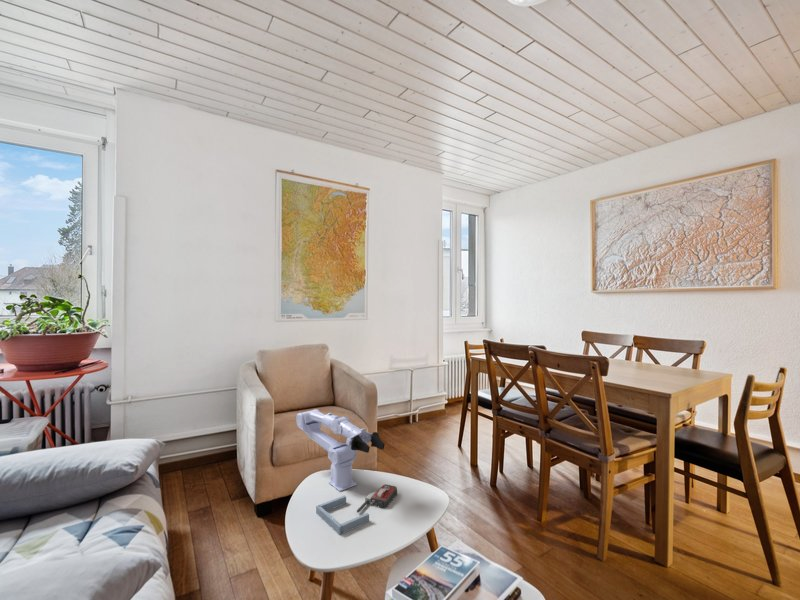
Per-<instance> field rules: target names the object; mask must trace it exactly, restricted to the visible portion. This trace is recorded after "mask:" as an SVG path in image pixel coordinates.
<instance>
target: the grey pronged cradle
mask: <svg viewBox="0 0 800 600" xmlns="http://www.w3.org/2000/svg"><path fill="white" fill-rule="evenodd" d="M345 503H346V504H347V496H346V495H345V494H344V495H341V496H339V497H336V498H334V499H331V500H329V501H326V502H323V503H321V504H318V505H315V513H316V514H317V516H318V517H320V518H321V520H323V521H324V522H325V523H326V524H327V525H328V526H329V527H330V528H331V527H332V528H333V531H335V533H336V534H338V535H339V536H341V535H343V534H345V533H348V532H350V531H352V530H354V529H356V528H358V527H360V526H363V525H365V524H368V523H369V522H370V514H369V513H368V512H366V513H363V514H361V515H358V516H356V517H354V518H352V519H350V520H348V521H345V522H343V523H340V522H339V521H338V520H337V519H336V518H334V517H333V515H331V514H330V513H329V511H331V510H333V509H335V508H334V507H336V508H338V507H341V506H343V505H345ZM340 505H341V506H340ZM337 506H338V507H337ZM332 508H333V509H332ZM330 509H331V510H330ZM327 510H328V511H327Z"/></svg>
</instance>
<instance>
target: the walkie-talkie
mask: <svg viewBox="0 0 800 600" xmlns="http://www.w3.org/2000/svg"><path fill="white" fill-rule="evenodd" d="M397 495H398V488H397V486H395V485H390V484H383V485H381V486H380V488H378V489H377V490H376V491H373V492H370V493H369V494H368V495H367V496H366V497H365V501H364V502H363V503H362V504H361V505H360V507H358V508H357V509H356V513H357V514H359V513H360V512H361V511H362V510H363V509H364V508H365V506H367V505H370V506H374V505H375V507H378V508H382V507H383V509H386V508H388V507H389V505H390V504H389V503H392V501H393V500H394V499H395V498H396V496H397ZM393 498H394V499H393ZM368 503H370V504H368Z"/></svg>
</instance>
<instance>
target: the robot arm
mask: <svg viewBox="0 0 800 600" xmlns="http://www.w3.org/2000/svg"><path fill="white" fill-rule="evenodd" d="M295 421H296V422H295V423H296V425H297V428H299V429H300V430H301V431H302V432H304V434H306V436H307V437H308V438H309V439H310V440H312V441H313V442H314V443H316V444H317V445H318V446H320V447H321V448H322V449H323V450H326V452H327V457H328V459H329V460H330V462H331V465H330V480H329V481H328V484H329V485H331V486H332V487H334V488H335V489H337V490H338V492H342V491H344V490H347V489H350V488H352V487H356V486H357V483H356V482H354V481H353V463H354V461H355V459H356V458H357V451H360V452H364V453H366V454H368V453H370V447H372V448H373V447H374V448H377V449H379V450H384V449H385V442H383V441H382V439H381V437H380V435H379V433H378V432H377V431H373V432H372V433H371V432H368V431H366V428H365V427H364V428H360V427H358V426H356V425H354V424H353V423H352V422H351V421H350V418H349V417H348V416H346V415H344V416H342V417H340V416H339V415H334V414H333V413H332V412H328V413H327V414H324V413H322V412H320V410H319V409H317V408H314V409H312V410H308V411H303V412H298V413H297V414H296V417H295ZM322 426H323V427H324V428H327V429H330V430H331V431H332V433H333V434H334V435H341V436H343V437H344V438H346V442H339V441H338V440H336V439H335V438H333V437H332V436H330V434H328V433H326V432H325V431H323V430H322V429H321V428H322ZM368 443H371V444H370V445H369V444H368Z"/></svg>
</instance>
